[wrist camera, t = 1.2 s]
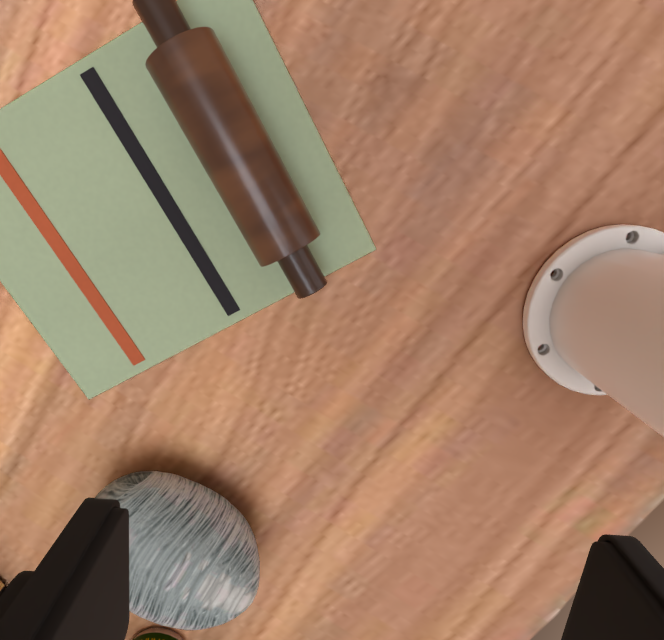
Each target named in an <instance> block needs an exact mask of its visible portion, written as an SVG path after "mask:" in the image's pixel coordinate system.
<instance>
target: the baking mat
mask: <svg viewBox="0 0 664 640" xmlns="http://www.w3.org/2000/svg"><path fill="white" fill-rule="evenodd" d="M176 2H177V4H178V6H179V8H180V9H181V11H182V13H183V15H184V17H185V19H186V21H187V22H188V24H189V26H190V28H191V29H193V28H197V27H210V28H212V29H213V30H214V32H215V34H216V36H217V38H218V39H219V41H220V43H221V45H222V47H223V49H224V51H225V53H226V55H227V57H228V58H229V60H230V62H231V64H232V66H233V68H234V70H235V72H236V74H237V76H238V77H239V79H240V81H241V83H242V85H243V87H244V89H245V91H246V93H247V95H248V96H249V98H250V100H251V102H252V104H253V106H254V108H255V110H256V112H257V114H258V115H259V117H260V119H261V121H262V123H263V125H264V127H265V129H266V131H267V133H268V134H269V136H270V138H271V140H272V142H273V144H274V146H275V148H276V150H277V152H278V153H279V155H280V157H281V159H282V161H283V163H284V165H285V167H286V169H287V171H288V172H289V174H290V176H291V178H292V180H293V182H294V184H295V186H296V188H297V189H298V191H299V193H300V195H301V197H302V199H303V201H304V203H305V205H306V207H307V208H308V210H309V212H310V214H311V216H312V218H313V220H314V222H315V224H316V226H317V227H318V229H319V231H320V233H321V234H320V236H319V237H318V238H316V239H315V240H314V241H312V242H311V243H309V244H308V247H309V249H310V251H311V253H312V255H313V256H314V258H315V260H316V262H317V264H318V266H319V268H320V269H321V271H322V273H323V275H324V277H325V276H327V275H328V274H330V273H332V272H334V271H336V270H338V269H340V268H342V267H344V266H346V265H348V264H350V263H351V262H353V261H355V260H357V259H359V258H361V257H363V256H365V255H367V254H369V253H371V252H373V251H374V250H376V247H375V245H374V243H373V241H372V239H371V237H370V235H369V233H368V231H367V229H366V227H365V225H364V223H363V221H362V219H361V217H360V215H359V213H358V211H357V209H356V207H355V205H354V203H353V201H352V199H351V197H350V195H349V193H348V191H347V189H346V187H345V185H344V183H343V181H342V179H341V177H340V175H339V173H338V171H337V169H336V167H335V165H334V163H333V161H332V159H331V157H330V155H329V153H328V151H327V149H326V147H325V145H324V143H323V141H322V139H321V137H320V135H319V133H318V131H317V129H316V127H315V125H314V123H313V121H312V119H311V117H310V115H309V113H308V111H307V109H306V107H305V105H304V103H303V101H302V99H301V97H300V95H299V93H298V91H297V89H296V87H295V85H294V82H293V80H292V78H291V76H290V74H289V72H288V70H287V68H286V66H285V64H284V62H283V60H282V58H281V56H280V54H279V52H278V50H277V48H276V46H275V44H274V42H273V40H272V38H271V36H270V34H269V32H268V30H267V28H266V26H265V24H264V22H263V20H262V18H261V16H260V14H259V12H258V10H257V8H256V6H255V4H254V2H253V0H177V1H176ZM156 48H157V47H156V45H155V43H154V41H153V40H152V38H151V36H150V34H149V32H148V31H147V29H146V27H145V25H144V24H143V22H141V23H140V24H138V25H136V26H135V27H133V28H131V29H130V30H128V31H127V32H125V33H123V34H122V35H120V36H118V37H117V38H115V39H114V40H112V41H110V42H109V43H107V44H105V45H104V46H102V47H100V48H99V49H97V50H96V51H94V52H92V53H91V54H89V55H87V56H86V57H84V58H83V59H81V60H79V61H78V62H76V63H74V64H73V65H71V66H69V67H68V68H66V69H65V70H63V71H61V72H60V73H58V74H56V75H55V76H53V77H52V78H50V79H48V80H47V81H45V82H43V83H42V84H40V85H38V86H37V87H35V88H34V89H32V90H30V91H29V92H27V93H25V94H24V95H22V96H21V97H19V98H17V99H16V100H14V101H12V102H11V103H9V104H7V105H6V106H4V107H3V108H1V109H0V281H1V283H2V284H3V285H4V287H5V288H6V289H7V291H8V292H9V293H10V295H11V296H12V297H13V299H14V300H15V301H16V303H17V304H18V305H19V307H20V308H21V309H22V311H23V312H24V313H25V315H26V316H27V317H28V319H29V320H30V322H31V323H32V324H33V326H34V327H35V328H36V330H37V331H38V332H39V334H40V335H41V336H42V338H43V339H44V340H45V342H46V343H47V344H48V346H49V347H50V348H51V350H52V351H53V352H54V354H55V355H56V356H57V358H58V359H59V360H60V362H61V363H62V364H63V366H64V367H65V368H66V370H67V371H68V372H69V374H70V375H71V376H72V378H73V379H74V380H75V382H76V383H77V385H78V386H79V387H80V389H81V390H82V391H83V393H84V394H85V395H86V397H87V398H88V399H91V398H93V397H95V396H97V395H99V394H101V393H102V392H104V391H106V390H108V389H110V388H112V387H114V386H116V385H118V384H120V383H122V382H124V381H125V380H127V379H129V378H131V377H133V376H135V375H137V374H139V373H141V372H143V371H145V370H147V369H148V368H150V367H152V366H154V365H156V364H158V363H160V362H162V361H164V360H166V359H168V358H170V357H171V356H173V355H175V354H177V353H179V352H181V351H183V350H185V349H187V348H189V347H191V346H192V345H194V344H196V343H198V342H200V341H202V340H204V339H206V338H208V337H210V336H212V335H214V334H215V333H217V332H219V331H221V330H223V329H225V328H227V327H229V326H231V325H233V324H235V323H237V322H238V321H240V320H242V319H244V318H246V317H248V316H250V315H252V314H254V313H256V312H258V311H260V310H261V309H263V308H265V307H267V306H269V305H271V304H273V303H275V302H277V301H279V300H281V299H283V298H284V297H286V296H288V295H290V294H292V293H294V290H293V288H292V286H291V285H290V283H289V281H288V279H287V278H286V276H285V274H284V272H283V270H282V269H281V267H280V265H279V263H278V262H275V263H272V264H270V265H267V266H264V267H261V266H260V265H259V263H258V261H257V259H256V258H255V256H254V254H253V252H252V251H251V249H250V247H249V246H248V244H247V242H246V240H245V239H244V237H243V235H242V233H241V232H240V230H239V228H238V226H237V225H236V223H235V221H234V219H233V218H232V216H231V214H230V213H229V211H228V209H227V207H226V206H225V204H224V202H223V200H222V199H221V197H220V195H219V193H218V192H217V190H216V188H215V186H214V185H213V183H212V181H211V179H210V178H209V176H208V174H207V173H206V171H205V169H204V167H203V166H202V164H201V162H200V160H199V159H198V157H197V155H196V153H195V152H194V150H193V148H192V146H191V145H190V143H189V141H188V140H187V138H186V136H185V134H184V133H183V131H182V129H181V127H180V126H179V124H178V122H177V120H176V119H175V117H174V115H173V113H172V112H171V110H170V108H169V106H168V105H167V103H166V101H165V100H164V98H163V96H162V94H161V93H160V91H159V89H158V87H157V86H156V84H155V82H154V80H153V79H152V77H151V75H150V73H149V72H148V70H147V68H146V65H145V63H146V60H147V58H148V57H149V55H150V54H151V53H152V52H153V51H154V50H155V49H156Z"/></svg>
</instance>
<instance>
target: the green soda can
mask: <svg viewBox="0 0 664 640" xmlns="http://www.w3.org/2000/svg"><path fill="white" fill-rule="evenodd" d="M133 640H183V639H182V638H181V637H180V636H179V635H178V634H177V633H176V632H174V631H172V630H170V629H166V628H150V629H146V630H144V631H142V632H140V633H139V634H138V635H137V636H136V637H135V638H134V639H133Z"/></svg>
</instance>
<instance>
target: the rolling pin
mask: <svg viewBox="0 0 664 640" xmlns="http://www.w3.org/2000/svg"><path fill="white" fill-rule="evenodd" d="M133 6H134V8H135V9H136V11H137V13H138V15H139V16H140V18H141V20H142V22H143V24H144V25H145V27H146V29H147V31H148V32H149V34H150V36H151V38H152V40H153V41H154V43H155V45H156V47H157V48H156V49H155V50H154V51H153V52H152V53H151V54H150V55H149V57H148V58H147V60H146V63H145V65H146V68H147V70H148V72H149V73H150V75H151V77H152V79H153V80H154V82H155V84H156V86H157V87H158V89H159V91H160V93H161V94H162V96H163V98H164V100H165V101H166V103H167V105H168V106H169V108H170V110H171V112H172V113H173V115H174V117H175V119H176V120H177V122H178V124H179V126H180V127H181V129H182V131H183V133H184V134H185V136H186V138H187V140H188V141H189V143H190V145H191V146H192V148H193V150H194V152H195V153H196V155H197V157H198V159H199V160H200V162H201V164H202V166H203V167H204V169H205V171H206V173H207V174H208V176H209V178H210V179H211V181H212V183H213V185H214V186H215V188H216V190H217V192H218V193H219V195H220V197H221V199H222V200H223V202H224V204H225V206H226V207H227V209H228V211H229V213H230V214H231V216H232V218H233V219H234V221H235V223H236V225H237V226H238V228H239V230H240V232H241V233H242V235H243V237H244V239H245V240H246V242H247V244H248V246H249V247H250V249H251V251H252V252H253V254H254V256H255V258H256V259H257V261H258V263H259V265H260V266H261V267H264V266H267V265H270V264H272V263H275V262H278V263H279V265H280V267H281V269H282V270H283V272H284V274H285V276H286V278H287V279H288V281H289V283H290V285H291V286H292V288H293V290H294V292H295V294H296V295H297V297H298V298H305V297H307V296H310V295H312V294H314V293H315V292H317V291H319V290H320V289H322V288H323V287H324V286H325V285H326V284H327V281H326V279H325V277H324V275H323V273H322V271H321V269H320V268H319V266H318V264H317V262H316V260H315V258H314V256H313V255H312V253H311V251H310V249H309V247H308V244H309V243H311V242H312V241H314V240H315V239H316V238H318V237H319V236H320V234H321V233H320V231H319V229H318V227H317V226H316V224H315V222H314V220H313V218H312V216H311V214H310V212H309V210H308V208H307V207H306V205H305V203H304V201H303V199H302V197H301V195H300V193H299V191H298V189H297V188H296V186H295V184H294V182H293V180H292V178H291V176H290V174H289V172H288V171H287V169H286V167H285V165H284V163H283V161H282V159H281V157H280V155H279V153H278V152H277V150H276V148H275V146H274V144H273V142H272V140H271V138H270V136H269V134H268V133H267V131H266V129H265V127H264V125H263V123H262V121H261V119H260V117H259V115H258V114H257V112H256V110H255V108H254V106H253V104H252V102H251V100H250V98H249V96H248V95H247V93H246V91H245V89H244V87H243V85H242V83H241V81H240V79H239V77H238V76H237V74H236V72H235V70H234V68H233V66H232V64H231V62H230V60H229V58H228V57H227V55H226V53H225V51H224V49H223V47H222V45H221V43H220V41H219V39H218V38H217V36H216V34H215V32H214V30H213V29H212V28H210V27H197V28H193V29H191V28H190V26H189V24H188V22H187V21H186V19H185V17H184V15H183V13H182V11H181V9H180V8H179V6H178V4H177V2H176V0H133Z"/></svg>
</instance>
